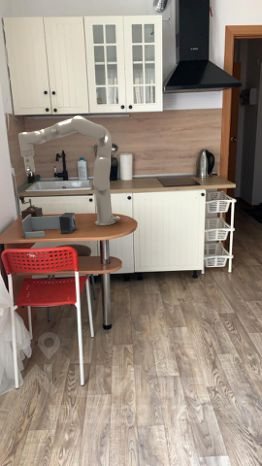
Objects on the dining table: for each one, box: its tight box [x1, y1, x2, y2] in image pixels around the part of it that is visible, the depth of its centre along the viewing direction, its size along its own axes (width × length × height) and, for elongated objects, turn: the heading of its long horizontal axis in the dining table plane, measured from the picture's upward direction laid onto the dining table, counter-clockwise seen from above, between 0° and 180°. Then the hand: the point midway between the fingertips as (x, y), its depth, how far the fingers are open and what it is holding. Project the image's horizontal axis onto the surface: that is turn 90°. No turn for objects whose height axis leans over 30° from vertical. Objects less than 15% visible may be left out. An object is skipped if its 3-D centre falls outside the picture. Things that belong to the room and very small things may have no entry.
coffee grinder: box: [18, 195, 44, 221], centre depth 252 cm, size 16×11×18 cm
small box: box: [58, 212, 77, 235], centre depth 226 cm, size 11×6×10 cm, turn 168°
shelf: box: [20, 214, 62, 239], centre depth 227 cm, size 24×17×10 cm
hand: (31, 182), depth 231 cm, fingers open, 9 cm apart
